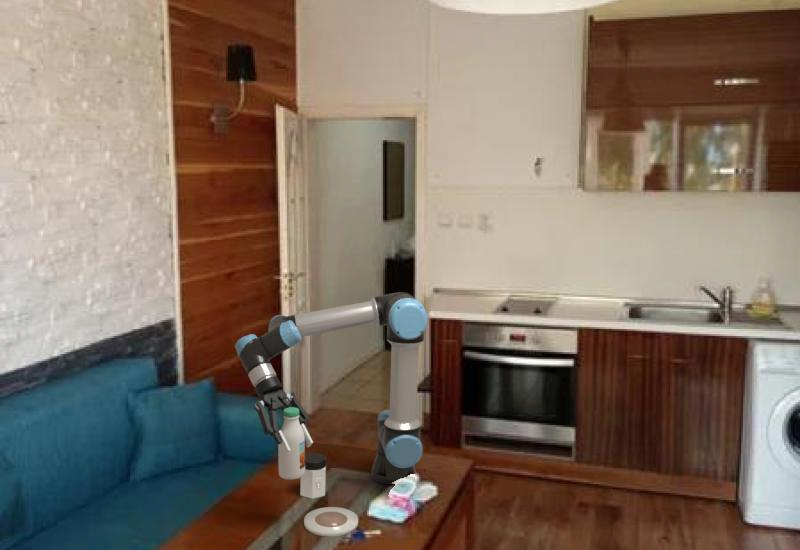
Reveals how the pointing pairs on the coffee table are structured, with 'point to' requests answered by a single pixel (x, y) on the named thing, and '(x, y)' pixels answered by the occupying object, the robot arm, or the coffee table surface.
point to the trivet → (331, 521)
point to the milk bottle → (292, 446)
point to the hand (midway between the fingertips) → (299, 448)
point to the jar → (314, 476)
